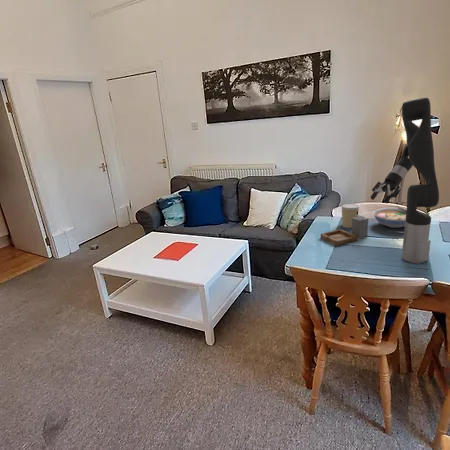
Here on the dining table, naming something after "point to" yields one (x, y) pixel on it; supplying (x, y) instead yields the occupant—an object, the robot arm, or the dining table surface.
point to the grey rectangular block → (360, 226)
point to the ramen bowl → (391, 216)
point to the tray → (339, 237)
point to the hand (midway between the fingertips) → (378, 200)
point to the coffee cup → (349, 214)
